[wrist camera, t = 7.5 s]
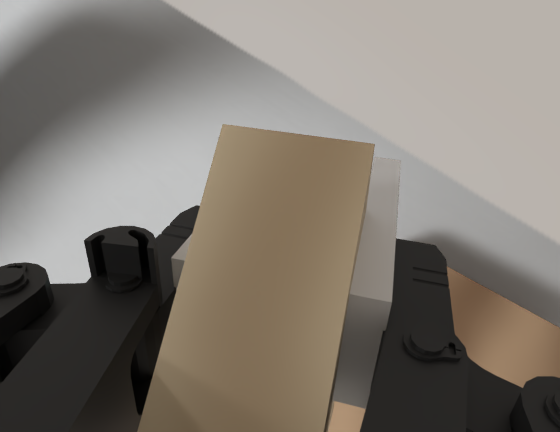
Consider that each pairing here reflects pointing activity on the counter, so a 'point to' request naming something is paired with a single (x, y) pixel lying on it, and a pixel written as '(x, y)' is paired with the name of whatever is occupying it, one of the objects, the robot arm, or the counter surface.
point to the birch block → (263, 287)
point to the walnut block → (487, 341)
